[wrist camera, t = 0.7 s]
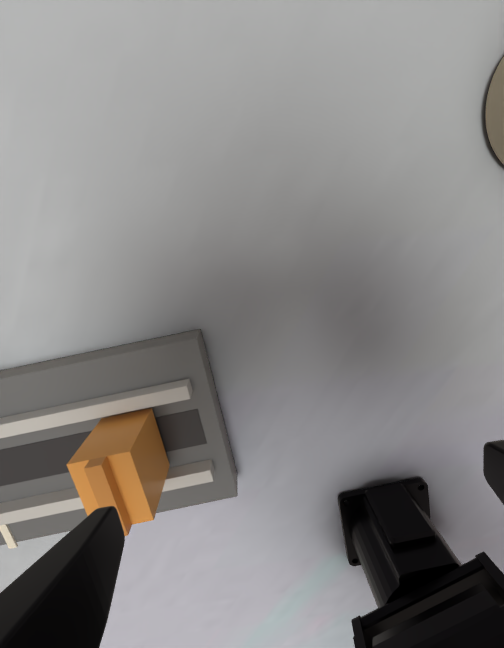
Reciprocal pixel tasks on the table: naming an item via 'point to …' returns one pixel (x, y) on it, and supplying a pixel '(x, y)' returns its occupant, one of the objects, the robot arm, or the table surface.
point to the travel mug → (496, 112)
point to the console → (100, 402)
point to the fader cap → (122, 467)
